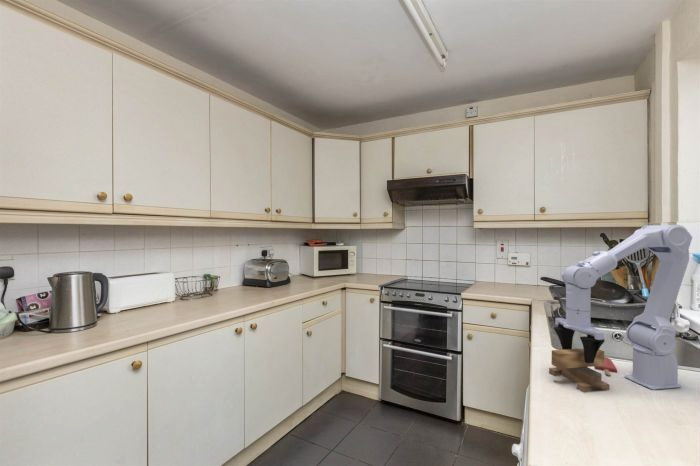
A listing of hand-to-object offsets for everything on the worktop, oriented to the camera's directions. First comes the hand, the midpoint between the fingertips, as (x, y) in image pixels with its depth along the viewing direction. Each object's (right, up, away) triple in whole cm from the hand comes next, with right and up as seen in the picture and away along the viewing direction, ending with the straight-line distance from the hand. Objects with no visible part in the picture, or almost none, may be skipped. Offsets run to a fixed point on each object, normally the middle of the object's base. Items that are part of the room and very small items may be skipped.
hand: (577, 357), depth 94 cm
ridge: (0, -7, 0) cm, 7 cm away
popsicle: (+15, -7, +10) cm, 19 cm away
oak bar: (0, -2, 0) cm, 2 cm away
